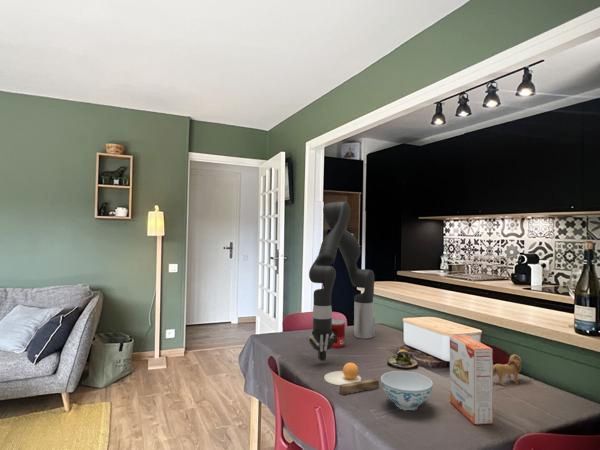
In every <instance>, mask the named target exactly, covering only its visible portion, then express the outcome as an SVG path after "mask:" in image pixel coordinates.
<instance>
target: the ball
mask: <svg viewBox="0 0 600 450" xmlns="http://www.w3.org/2000/svg"><path fill="white" fill-rule="evenodd" d="M342 371H343V374H344V376H345V377H346V378H348V379H355V378H356V377H357V376H358V375H359V372H360V371H359V367H358V366H357V364H355V363H354V362H347V363H345V364H344V366H343V368H342Z"/></svg>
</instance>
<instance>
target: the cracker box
mask: <svg viewBox="0 0 600 450" xmlns="http://www.w3.org/2000/svg"><path fill="white" fill-rule="evenodd" d="M493 354H494V351H493V348H492V347H490V346H487V345H486V344H484V343H482V342H481V341H478V340H476V339H475V338H473V337H471V336H470V335H467V334H452V335H449V402H450V403H451V404H452V405H453V406H454V407H455V408H456V409H457V410H458V412H461V414H462V415H463V416H464V417H466V418H467V420H469V421H470V423H472V424H473V425H474V424H476V425H493V424H494V384H493V383H494V376H493V366H494V365H493V363H494V360H493V359H494V358H493V357H494V355H493Z"/></svg>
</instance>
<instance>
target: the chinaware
mask: <svg viewBox="0 0 600 450" xmlns="http://www.w3.org/2000/svg"><path fill="white" fill-rule="evenodd" d="M380 381H381V386H382V389H383V391H384V393H385V395H386V396H387V398H388V399H389V400H390V401H391V402H392V403H394V406H395V405H396V406H397V407H399V408H401V409H405V410H404V411H406V410H413V411H415V410H414V409H416V410H417V409H419V406H422V405H423V404H424V403H425V402H426V401H427V400H428V398H429V397H430V395H431V392H432V390H433V381H432V380H431V378H430V377H428V376H426V375H423V374H420V373H418V372H413V371H405V370H404V371H403V370H395V371H389V372H385V373H383V374H382V375H381V377H380ZM396 406H395V407H396ZM397 407H396V408H397ZM399 408H398V409H399ZM401 409H400V410H401Z"/></svg>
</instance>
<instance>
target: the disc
mask: <svg viewBox="0 0 600 450" xmlns="http://www.w3.org/2000/svg"><path fill="white" fill-rule="evenodd" d="M324 381H326V382H327V383H328V384H332V385H335V386H339V385H342V384H347V383H353V382H358V381H362V377H361V375H359V374H358V376H357V377H356V378H355V379H348V378H346V377H345V376H344V374H343V370H336V371H330V372H327V373H326V374H325V375H324Z"/></svg>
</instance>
